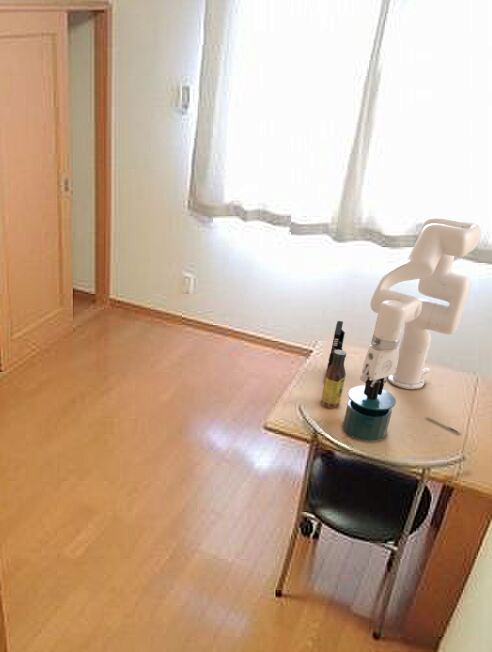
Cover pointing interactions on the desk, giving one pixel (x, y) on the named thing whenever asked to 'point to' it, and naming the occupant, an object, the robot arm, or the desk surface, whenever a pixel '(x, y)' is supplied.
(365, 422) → the pot
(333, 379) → the sauce bottle
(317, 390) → the desk surface
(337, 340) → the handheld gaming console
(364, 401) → the lid
